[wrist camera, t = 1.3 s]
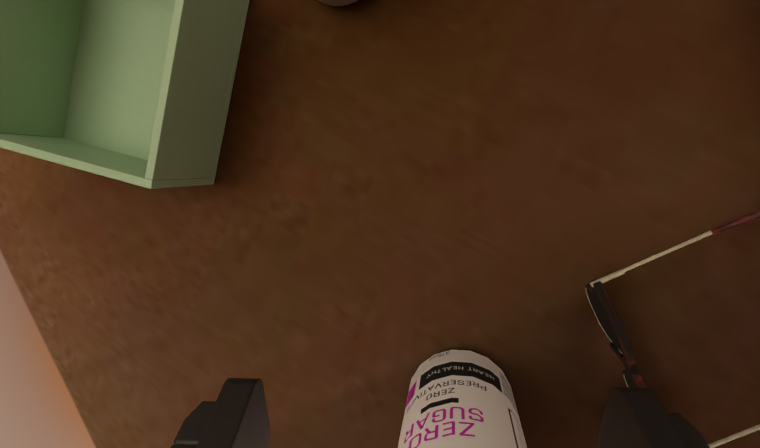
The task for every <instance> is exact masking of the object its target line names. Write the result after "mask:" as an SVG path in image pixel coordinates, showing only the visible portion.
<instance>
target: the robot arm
mask: <svg viewBox="0 0 760 448" xmlns="http://www.w3.org/2000/svg"><path fill="white" fill-rule="evenodd" d="M269 438H270V423H269V417H268V411H267V406H266V400H265V394H264V388H263V383H262V381H261V379H245V378H228V379H227V380H226V381H225V383H224V385H223V387H222V390H221V392H220V394H219V396H218V399H217V401H216V402H209V401H203V402H202V403H201V404H200V405H199V406H198V407H197V408H196V409H195V410H194V411H193V412H192V413H191V414H190V415H189V416H188V417H187V418H186V419H185V420H184V422H183V424H182V426H181V428H180V430H179V432H178V434H177V436H176V438H175V440H174V445H172V446H171V448H268V446H269ZM598 443H599V448H710V447H709V445H708V444H707V442H706V441H705V439H704V438H703V436H702V434H701V433H700V432H699V431H697V430H696V429H695V428H694V427H693V426H692V425H691V424H690V423H688V422H687V421H686V420H685V419H684V418H683V417H682V416H681V415H679V414H676V413H667V412H666V411H665V409H664V407H663V406H662V404H661V402H660V401H659V399H658V397H657V396H656V394H655V393H654V392H653V390H651V389H650V388H626V387H614V388H612V389H611V391H610V394H609V398H608V401H607V405H606V409H605V412H604V416H603V420H602V423H601V427H600V431H599V437H598Z"/></svg>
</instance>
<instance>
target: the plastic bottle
mask: <svg viewBox="0 0 760 448" xmlns="http://www.w3.org/2000/svg"><path fill="white" fill-rule="evenodd" d="M318 1H320V2H322V3H324V4H327V5H331V6H344V5H349V4H351V3H354V2H356V1H358V0H318Z"/></svg>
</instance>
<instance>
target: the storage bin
mask: <svg viewBox="0 0 760 448" xmlns="http://www.w3.org/2000/svg"><path fill="white" fill-rule="evenodd" d="M249 1H250V0H0V148H3V149H7V150H11V151H14V152H18V153H22V154H25V155H29V156H32V157H36V158H40V159H43V160H47V161H51V162H54V163H58V164H61V165H65V166H69V167H72V168H76V169H80V170H83V171H87V172H90V173H94V174H98V175H101V176H105V177H109V178H112V179H116V180H120V181H123V182H127V183H130V184H134V185H138V186H141V187H145V188H149V189H158V188H171V187H184V186H198V185H211V184H214V181H215V176H216V170H217V165H218V160H219V155H220V150H221V145H222V140H223V134H224V129H225V124H226V119H227V114H228V109H229V104H230V98H231V93H232V88H233V83H234V78H235V73H236V68H237V62H238V57H239V52H240V47H241V42H242V37H243V32H244V27H245V21H246V16H247V11H248V6H249Z"/></svg>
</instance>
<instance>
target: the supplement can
mask: <svg viewBox="0 0 760 448" xmlns="http://www.w3.org/2000/svg"><path fill="white" fill-rule="evenodd" d="M398 448H527V446H526V442H525V438H524V434H523V430H522V427H521V423H520V419H519V415H518V412H517V408H516V404H515V400H514V396H513V393H512V389H511V386H510V384H509V382H508V380H507V378H506V377H505V375H504V373H503V371H502V370H501V369H500V368H499V367H498V366H497V365H495V364H494V363H493V362H492V361H491V360H490V359H489V358H487V357H485V356H482V355H480V354H477V353H475V352H473V351H468V350H449V351H445V352H441V353H438V354H434V355H433V356H432V357H430V358H429V359H428V360H426V361H425V362H423V363H422V364H421V365H420V366H419V368H418V369H417V371H416V372H415V374H414V375H413V377H412V378H411V383H410V388H409V392H408V397H407V403H406V408H405V413H404V418H403V423H402V428H401V434H400V439H399V444H398Z"/></svg>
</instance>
